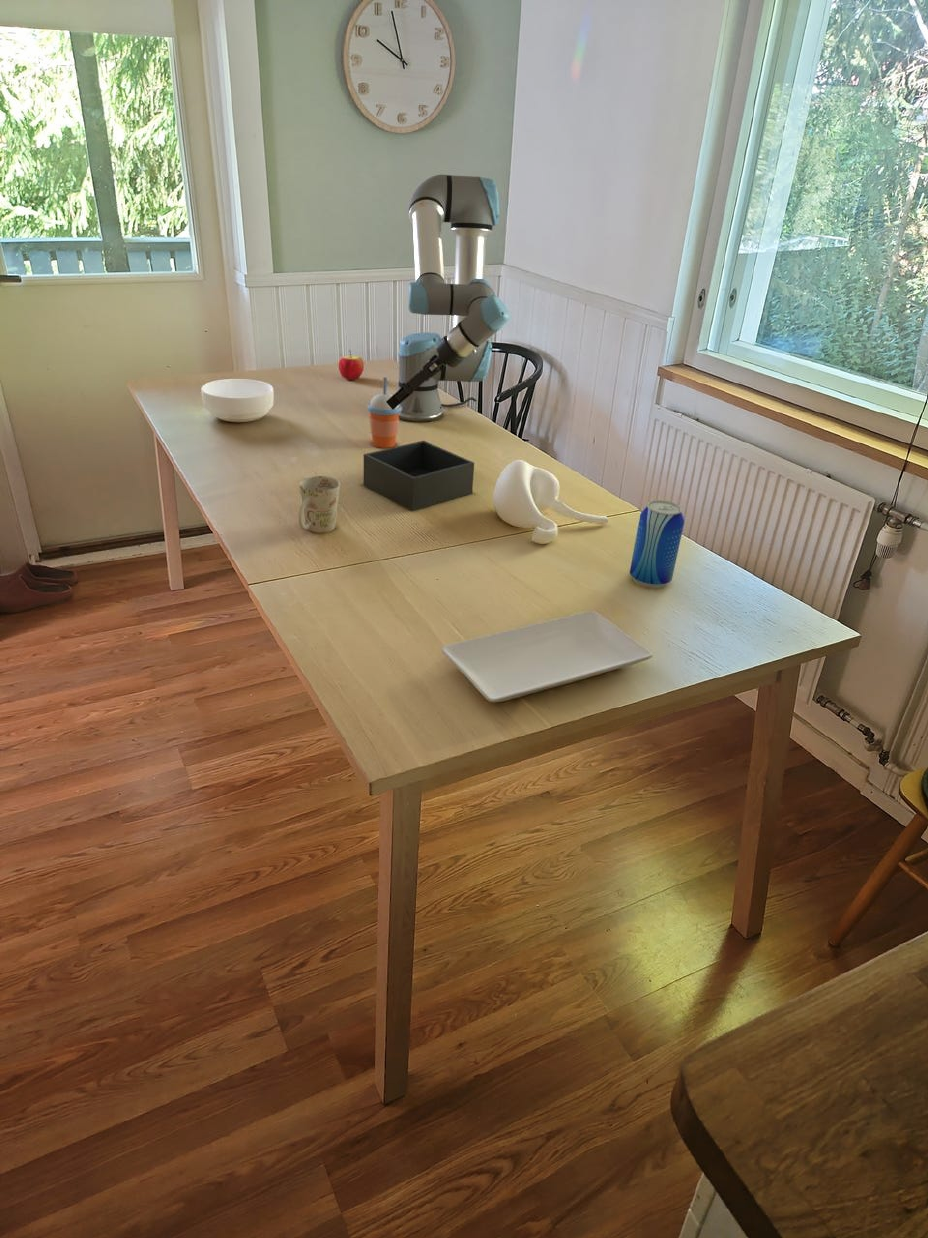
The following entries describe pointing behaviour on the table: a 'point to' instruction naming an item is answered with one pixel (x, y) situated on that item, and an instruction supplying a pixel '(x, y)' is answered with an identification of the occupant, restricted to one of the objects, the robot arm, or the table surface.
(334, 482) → the mug
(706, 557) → the table surface
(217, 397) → the bowl
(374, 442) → the cup with straw
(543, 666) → the tray
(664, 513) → the beer can
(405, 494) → the bin
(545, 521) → the stomach
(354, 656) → the table surface
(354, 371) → the apple
